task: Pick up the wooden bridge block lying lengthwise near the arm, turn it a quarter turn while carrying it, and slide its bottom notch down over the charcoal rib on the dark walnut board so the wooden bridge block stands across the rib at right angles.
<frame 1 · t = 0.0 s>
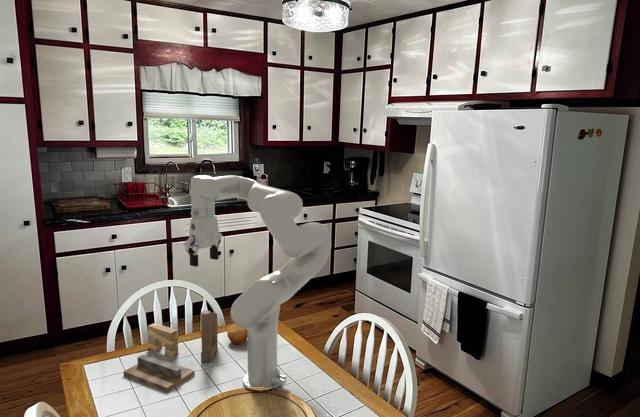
hand: (204, 262, 156), 37 cm above the table, tool pointing down, fingers open, 9 cm apart
fruit: (238, 342, 179), on the table
rib board: (159, 375, 154), on the table
wooden block: (209, 355, 168), on the table
wooden bridge block: (163, 350, 171), on the table
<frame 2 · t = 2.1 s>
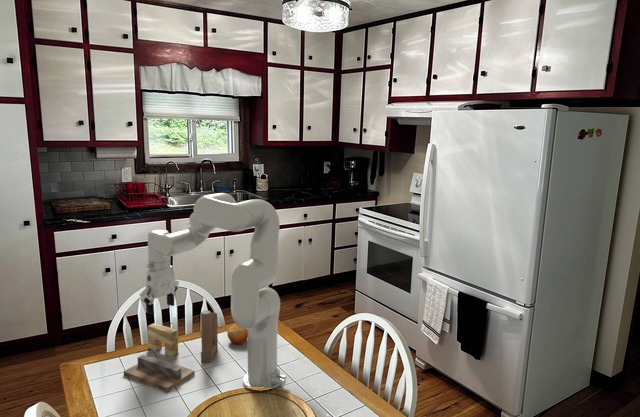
hand: (160, 309, 168), 16 cm above the table, tool pointing down, fingers open, 9 cm apart
nothing on the table moved.
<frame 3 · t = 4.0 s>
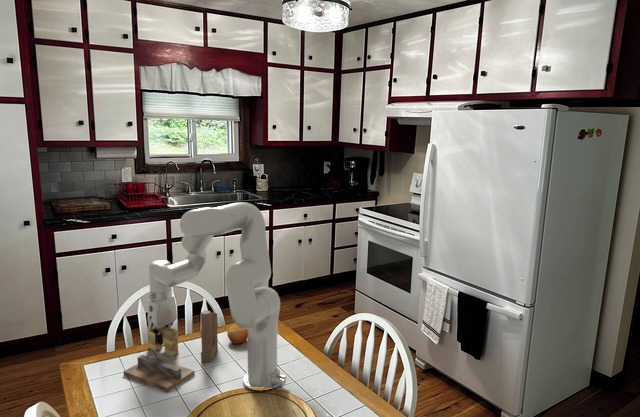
hand: (162, 341, 170), 4 cm above the table, tool pointing down, fingers closed on wooden bridge block, 3 cm apart
wooden bridge block: (163, 350, 171), on the table, touching gripper
everything else where it was.
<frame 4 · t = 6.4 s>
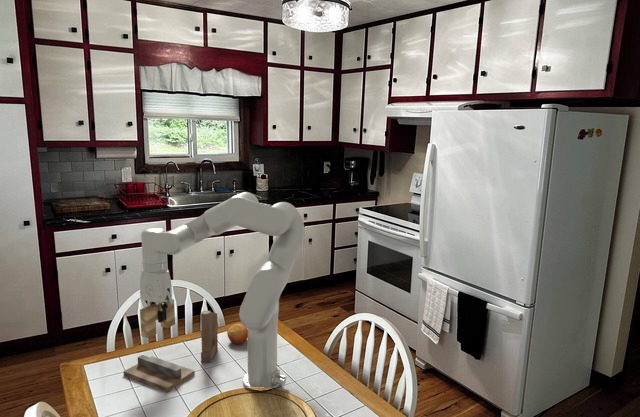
hand: (158, 319, 153), 19 cm above the table, tool pointing down, fingers closed on wooden bridge block, 3 cm apart
wooden bridge block: (158, 330, 153), point 15 cm above the table, touching gripper
everything else where it was.
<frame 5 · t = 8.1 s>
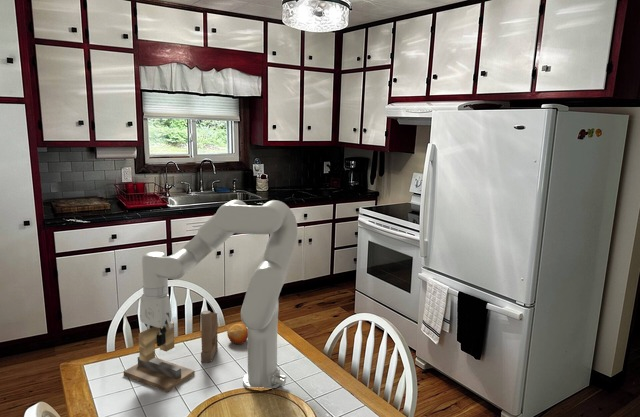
hand: (157, 342, 152), 11 cm above the table, tool pointing down, fingers closed on wooden bridge block, 3 cm apart
wooden bridge block: (157, 353, 153), point 8 cm above the table, touching gripper
everything else where it was.
when the fingers open (6 cm above the table, at t = 9.3 s): wooden bridge block stays where it is, resting on rib board.
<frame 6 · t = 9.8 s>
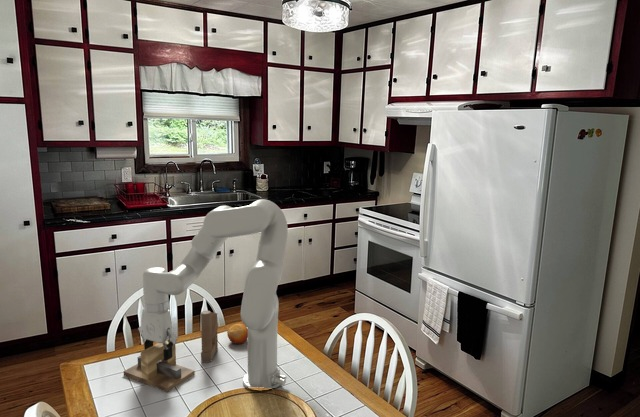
hand: (158, 355, 153), 7 cm above the table, tool pointing down, fingers open, 8 cm apart
wooden bridge block: (159, 370, 154), point 1 cm above the table, touching rib board
everything else where it was.
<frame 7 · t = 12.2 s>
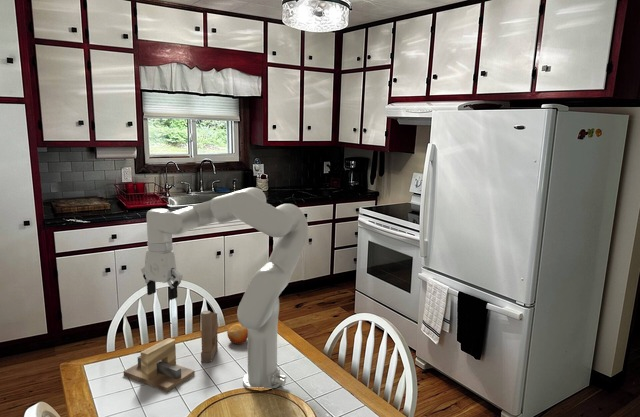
hand: (162, 296, 154), 26 cm above the table, tool pointing down, fingers open, 9 cm apart
nothing on the table moved.
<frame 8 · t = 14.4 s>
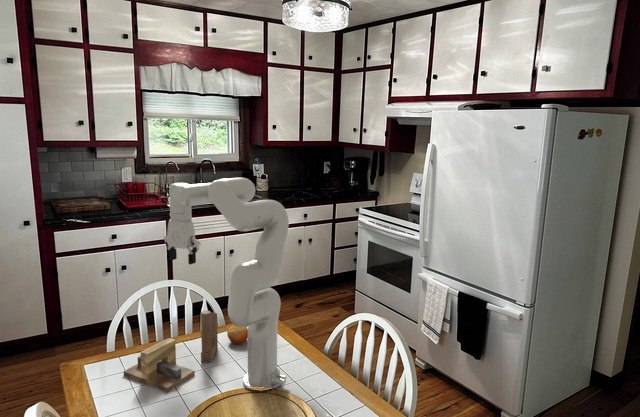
hand: (182, 261, 172), 32 cm above the table, tool pointing down, fingers open, 9 cm apart
nothing on the table moved.
at the end: wooden bridge block 0.1 cm off-centre on the rib board, point 1.5 cm above the rib board's base; wooden bridge block tilted 0°; the gripper is holding nothing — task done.
